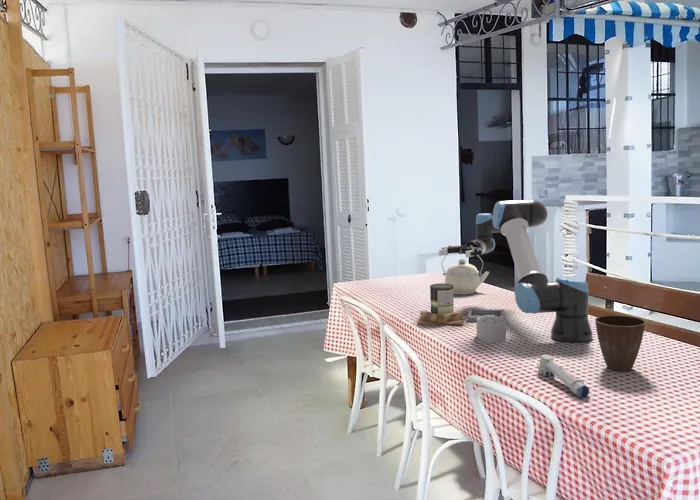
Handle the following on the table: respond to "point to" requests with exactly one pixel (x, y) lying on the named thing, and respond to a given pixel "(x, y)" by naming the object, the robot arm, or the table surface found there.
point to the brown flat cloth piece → (441, 318)
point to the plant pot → (619, 340)
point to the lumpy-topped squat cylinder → (491, 329)
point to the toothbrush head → (562, 376)
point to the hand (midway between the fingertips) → (452, 253)
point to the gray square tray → (486, 312)
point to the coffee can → (441, 298)
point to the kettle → (464, 277)
